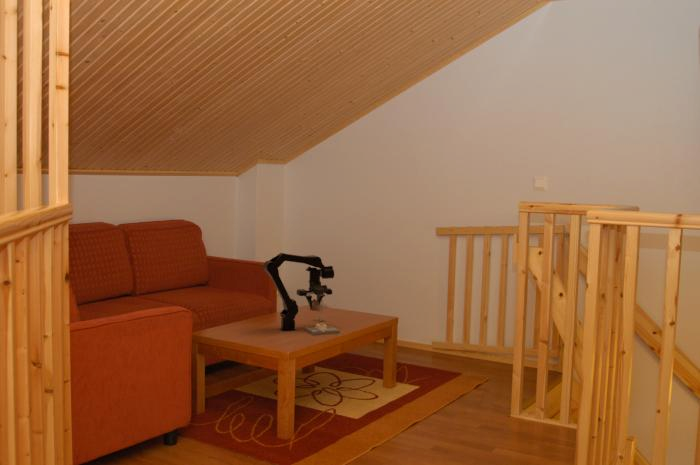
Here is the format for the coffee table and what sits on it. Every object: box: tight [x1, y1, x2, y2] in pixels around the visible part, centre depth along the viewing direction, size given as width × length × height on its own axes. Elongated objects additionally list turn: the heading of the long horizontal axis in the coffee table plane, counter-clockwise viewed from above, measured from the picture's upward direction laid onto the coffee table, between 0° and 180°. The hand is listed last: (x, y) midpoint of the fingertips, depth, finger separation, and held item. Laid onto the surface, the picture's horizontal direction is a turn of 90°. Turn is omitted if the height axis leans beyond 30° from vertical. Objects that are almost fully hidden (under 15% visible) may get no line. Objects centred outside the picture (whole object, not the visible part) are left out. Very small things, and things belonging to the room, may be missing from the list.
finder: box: [315, 322, 328, 331], centre depth 409 cm, size 4×5×3 cm
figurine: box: [316, 297, 330, 322], centre depth 440 cm, size 11×4×15 cm, turn 61°
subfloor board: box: [304, 325, 341, 336], centre depth 413 cm, size 15×12×2 cm
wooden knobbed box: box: [309, 298, 320, 312], centre depth 421 cm, size 4×4×6 cm
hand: (314, 307), depth 422 cm, fingers closed on wooden knobbed box, 4 cm apart
